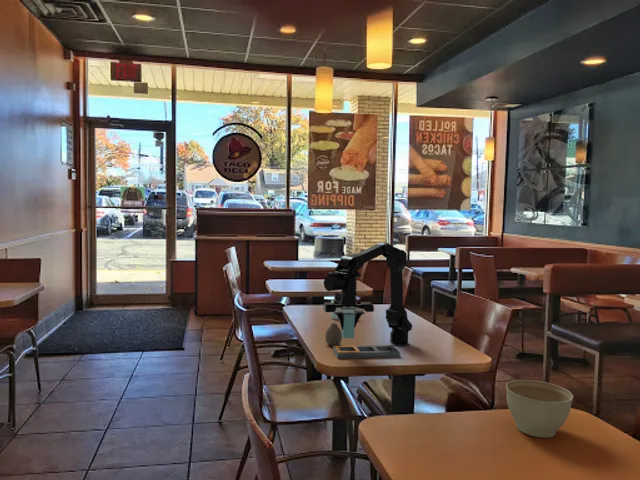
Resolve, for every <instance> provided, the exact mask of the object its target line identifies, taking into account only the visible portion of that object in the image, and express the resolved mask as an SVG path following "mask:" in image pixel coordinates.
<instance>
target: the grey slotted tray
mask: <svg viewBox="0 0 640 480" xmlns="http://www.w3.org/2000/svg"><path fill="white" fill-rule="evenodd" d="M332 351H333V354H334V355H335V356H336V358H337V359H339V360H340V359H376V358H377V359H381V358H382V359H383V358H389V359H390V358H400V357H401V356H400V355H401V351H399V350H398V349H397V348H396V347H395V345H393V344H380V345H378V344H377V345H376V344H375V345H374V344H373V345H372V344H371V345H369V344H367V345H338V346H332Z"/></svg>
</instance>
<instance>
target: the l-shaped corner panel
mask: <svg viewBox="0 0 640 480" xmlns="http://www.w3.org/2000/svg"><path fill="white" fill-rule="evenodd" d="M331 302H334V300H331ZM354 310H355V309H342V313H353V314H354ZM330 319H331V320H339V319H338V316H337V314H335V313H334V312H330Z"/></svg>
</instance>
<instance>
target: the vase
mask: <svg viewBox="0 0 640 480" xmlns="http://www.w3.org/2000/svg"><path fill="white" fill-rule="evenodd" d="M324 336H325V343H327V345H329V346H331V347H333V346H340V344H341V342H342V340H343V337H342V329H341V327H339V325H338V323H336V322H335V323H334V322H333V323H330V325H329V327H328V328H327V329H326V331H325V334H324Z"/></svg>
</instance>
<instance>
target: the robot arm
mask: <svg viewBox="0 0 640 480" xmlns="http://www.w3.org/2000/svg"><path fill="white" fill-rule="evenodd" d="M380 256H382V257H384V258H385V262H386V266H387V267H388V269H389V273H390V305H389V308H388V309H387V308H386V309H385V319H386V322H387V324H388V328H389V329H391V331H390V333H389V334H390V337H389V342H390V343H391V345H393V346H409V345H410V343H409V332H410V331H412V329H413V324H412V322H410V320H409V319H408V313H407V310H406V308H405V306H404V295H403V294H404V287H403V285H404V282H403V279H404V278H403V277H404V276H403V273H404V269H405V268H406V265H407V260H408V254H407V252H406V251H405V250H403V249H399V248H397V247H395V246H393V245H392V244H390V243H388V242H385V241H384V242H381V241H379V242H378V243H376V244H374V245H373V246H370V247H368V248H366V249H364V250H362V251H360V252H358V253H352V254H351V253H350V254H346V255H342V256H341V257H340V260H339V262H338V264H337V266H336V267H335V269H334V270H333V272H327V275H326V276H325V278H324V280H323V287H324V289H325V290H326V292H334V291H340V292H334V294H333V302H324V303H323V308H322V310H323V311H324V312H325V313H331V312H334V313H335V314H337V316H338V319H337V320H338V322H339V324H340V330H341V331H342V330H343V313H342V309H355V310H354V315H355V320H354V330H355V329H356V326H357V324H358V322H359V320H360V318H361V317H362V315H365V312H366V313H374V312H375V306H374V304H373V303H371V301H361V302H360V304H357V295H358V294H357V284H358V283H357V282H358V281H357V280H358V278H361V277H362V274H361V273H359V270H361V269H362V268H363V267H364V266H365V264H366V263H368V262H370V261H371V260H374V259H376V258H377V257H380ZM335 302H338V304H336V303H335ZM364 311H365V312H364Z"/></svg>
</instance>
